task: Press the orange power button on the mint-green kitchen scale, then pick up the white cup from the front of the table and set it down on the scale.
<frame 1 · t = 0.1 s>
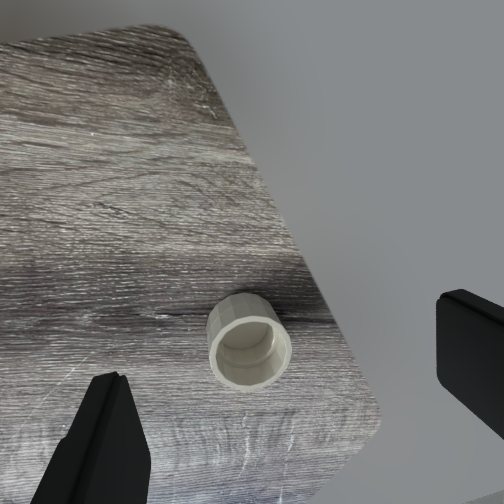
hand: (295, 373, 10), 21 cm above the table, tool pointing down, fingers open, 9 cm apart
white cup: (241, 323, 32), on the table
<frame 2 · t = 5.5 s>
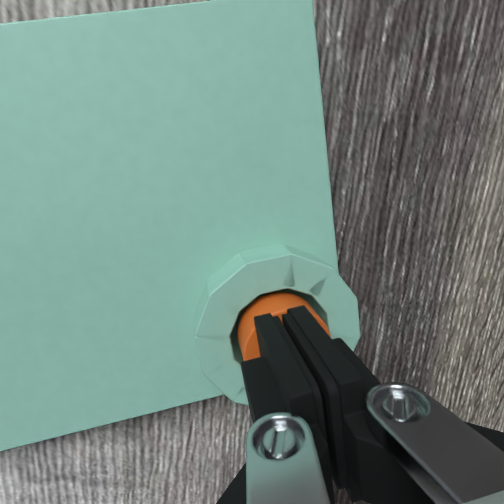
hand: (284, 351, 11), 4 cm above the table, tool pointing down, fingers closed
power button: (282, 340, 12), point 3 cm above the table, slide at -0.1 cm, touching gripper
scale: (123, 238, 13), on the table
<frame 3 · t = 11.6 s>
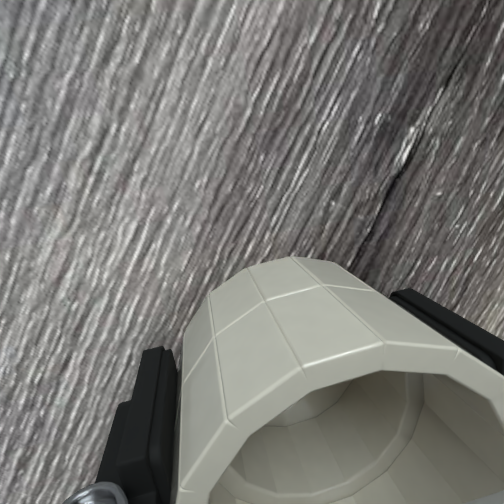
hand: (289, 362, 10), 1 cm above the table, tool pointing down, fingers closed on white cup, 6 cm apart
white cup: (283, 349, 11), on the table, touching gripper
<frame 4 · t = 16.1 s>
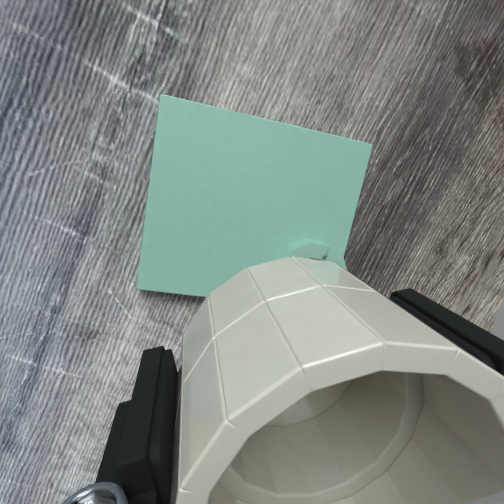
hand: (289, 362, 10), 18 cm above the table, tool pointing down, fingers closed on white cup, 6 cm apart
scale: (252, 213, 27), on the table
white cup: (283, 349, 11), point 17 cm above the table, touching gripper
when the fingers open (2 cm above the table, at t = 20.4 s): white cup stays where it is, resting on scale.
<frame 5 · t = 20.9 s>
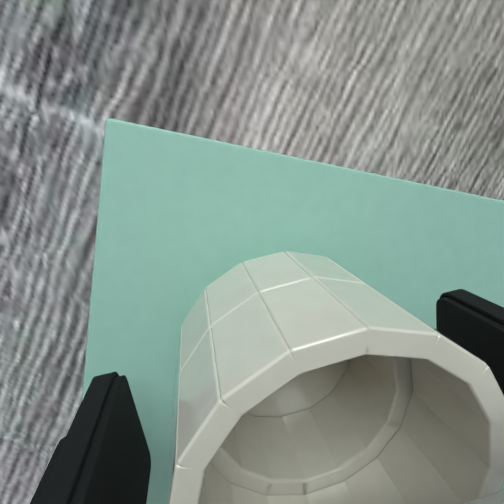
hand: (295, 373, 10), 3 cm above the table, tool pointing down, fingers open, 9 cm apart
scale: (312, 351, 13), on the table
white cup: (278, 342, 11), point 1 cm above the table, touching scale
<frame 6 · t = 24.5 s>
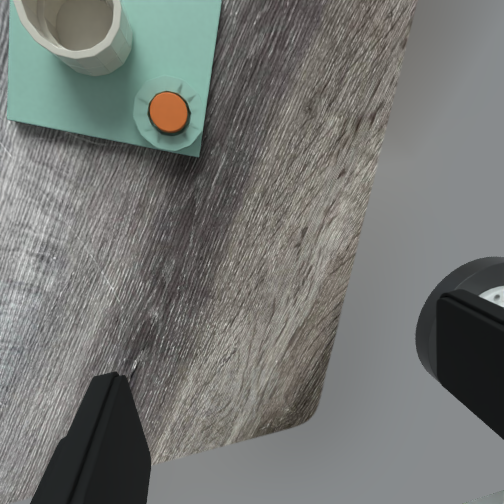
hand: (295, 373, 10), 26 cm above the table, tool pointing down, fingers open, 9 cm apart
power button: (169, 113, 28), point 3 cm above the table, slide at 0.1 cm
scale: (119, 58, 30), on the table
white cup: (91, 33, 28), point 1 cm above the table, touching scale
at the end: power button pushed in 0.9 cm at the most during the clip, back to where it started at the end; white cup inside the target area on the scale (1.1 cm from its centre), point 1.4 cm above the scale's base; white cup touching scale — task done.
